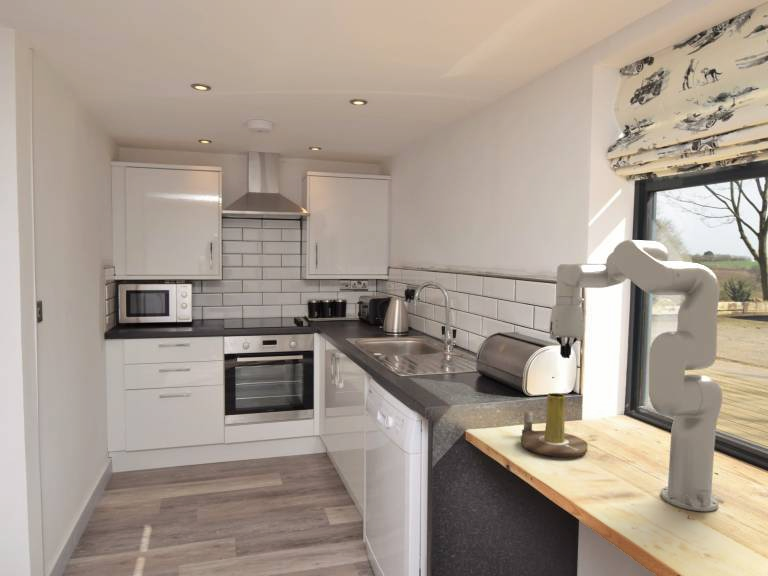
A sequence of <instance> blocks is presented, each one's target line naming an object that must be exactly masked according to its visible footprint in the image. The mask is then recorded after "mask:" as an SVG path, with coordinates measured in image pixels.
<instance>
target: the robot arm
mask: <svg viewBox="0 0 768 576" xmlns="http://www.w3.org/2000/svg"><path fill="white" fill-rule="evenodd" d="M668 260H669V252H668V250H667V248H666V246H664V245H663V244H662V243H660V242H657V241H654V240H640V239H636V240H635V239H627V240H623V241H621V242H619V243H618V244H617V245H616V246H615V247H614V249H613V251H612V252H611V253H610V254H609V255H608V256H607V258H606V262H605V263H600V264H599V263H562V264H561V263H560V264H559V265H558V266H557V268H556V269H557V270H556V289H555V291H556V292H555V304H554V305H552V308H551V313H550V318H549V329H548V332H549V339H551V340H553V341H556V342H557V343H558V344H559V346H560V351H559V353H560V355H561V357H562V358H564V359H570V357H571V355H572V346H573V345H574V344H575V343H576V342H577V341H578V342H579V341H582V340H583V339H584V337H583V335H584V327H585V326H584V313H583V307H582V306H581V305H582V304H584V303H585V299H584V298H581V289H584V288H586V289H592V288H594V289H596V288H597V289H602V288H609V287H612V286H616V285H620V284H623V283H624V282H625V281H626V280H627V279H628V280H630V281H631V282H632V283H633V284H634V285H636V286H637V287H638V288H640V289H641V290H642V291H643V292H645V293H647V294H649V295H654V296H682V297H684V299H683V300H682V302H681V303H680V306H679V309H678V311H677V327H676V330H675V331H674V330H673V331H666V332H661V333H660V334H657V336H656V337H655V338H654V339H653V341H652V342H651V345H650V348H649V354H648V356H649V357H648V397H649V401H650V403H651V406H652V408H653V410H655V411H656V412H657V413H658V414H660V415H662V416H665V417H674V418H673V420H672V421H673V422H672V425H671V429H670V430H671V432H670V445H669V446H670V447H669V462H668V477H667V478H668V480H667V486H664V487H662V488H661V489H660V497H661V498H662V499H663V500H664V501H665V502H667V503H668V504H671V505H673V506H675V507H677V508H681V509H686V510H688V511H695V512H712V511H715V510H717V509H718V508H719V501H718V500H717V498H716V497H714V496H713V495H712V491H713V490H712V487H713V472H714V458H715V446H716V445H715V444H716V434H717V433H716V432H717V424H718V418H719V415H720V411H721V407H722V405H723V392H722V388H721V386H720V385H719V384H718V382H717V381H716V380H715V379H713V378H712V377H710V376H707V375H704V374H696V373H695V374H685V373H686V371H696V370H697V371H698V370H704V369H708V368H710V367H712V366H713V365H714V364H715V362H716V359H717V347H718V346H717V340H718V339H717V337H718V308H719V300H720V294H721V293H720V292H721V291H720V283H719V279H718V278H717V276H716V274H715V273H714V272H713V270H711V269H710V268H708V267H707V266H705V265H702V264H699V263H695V262H689V261H668Z"/></svg>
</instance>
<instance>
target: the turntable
mask: <svg viewBox="0 0 768 576" xmlns="http://www.w3.org/2000/svg"><path fill="white" fill-rule="evenodd" d="M544 436H545V430H533V411H530V410H526V411H524V414H523V429H522V430H521V435H520V445H521V446H522V447H524V448H525V449H526V450H529V451H532V452H534V453H537V454H542V455H545V456H550V457H552V456H553V457H559V458H560V457H561V458H562V457H563V458H570V457H579V456H583V455H584V454H586V453H588V446H589V445H588V443H587V441H585V439H583V438H581V437H578V436H576V435H573V434H569V433H566V432H564V439H565V441H564V442H562V443H552V442H548V441H546V440H545V439H544Z"/></svg>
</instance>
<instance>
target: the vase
mask: <svg viewBox="0 0 768 576" xmlns="http://www.w3.org/2000/svg"><path fill="white" fill-rule="evenodd" d="M546 400H547V401H546V403H547V404H546V415H545V416H546V417H545V430H544V431H545V436H544V439H545V440H546V441H548V442H552V443H562V442H564V441H565V439H564V433H565V410H566V407H565V406H566V395H564V394H562V393H559V392H557V393H556V392H550V393H548V394H547V398H546Z"/></svg>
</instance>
